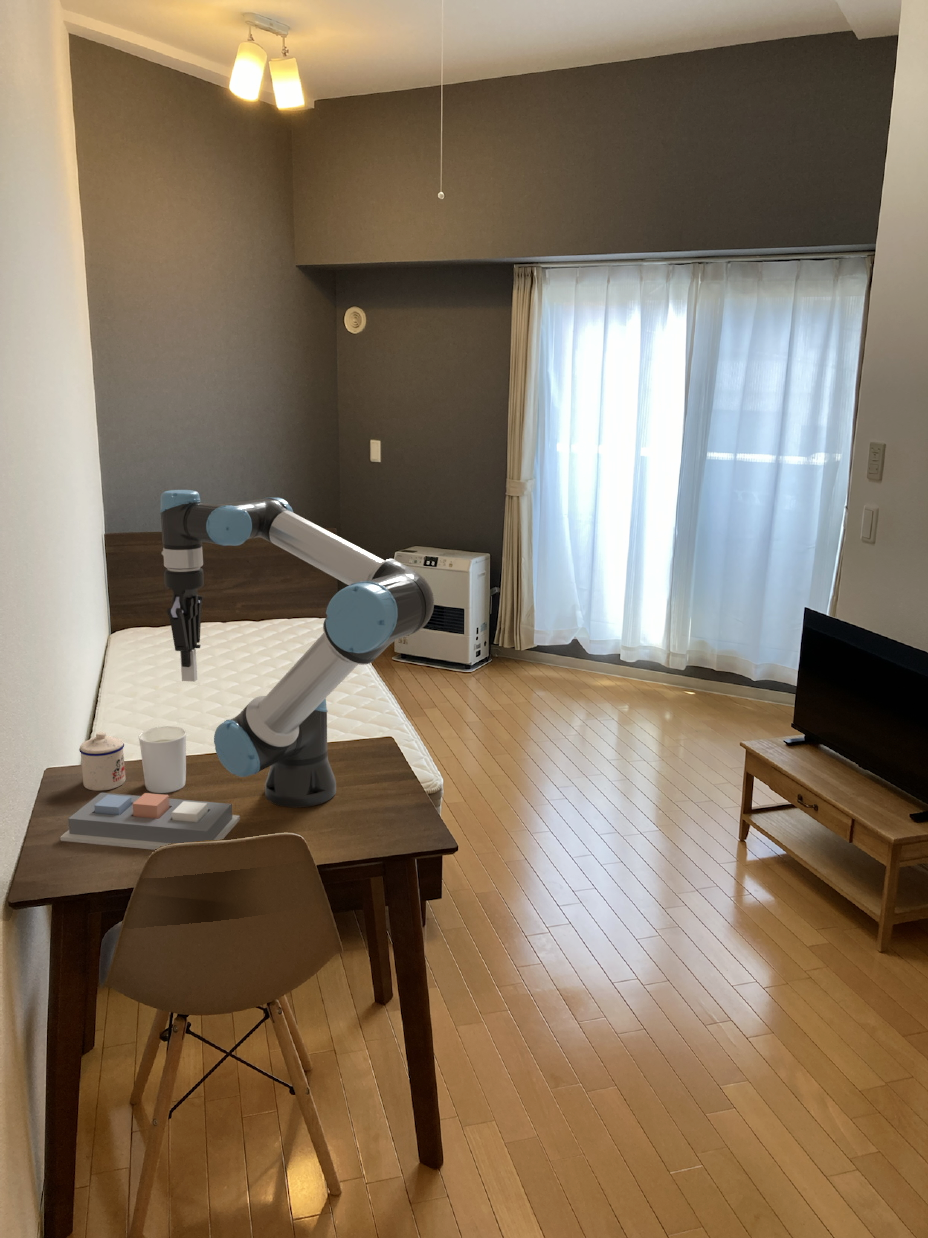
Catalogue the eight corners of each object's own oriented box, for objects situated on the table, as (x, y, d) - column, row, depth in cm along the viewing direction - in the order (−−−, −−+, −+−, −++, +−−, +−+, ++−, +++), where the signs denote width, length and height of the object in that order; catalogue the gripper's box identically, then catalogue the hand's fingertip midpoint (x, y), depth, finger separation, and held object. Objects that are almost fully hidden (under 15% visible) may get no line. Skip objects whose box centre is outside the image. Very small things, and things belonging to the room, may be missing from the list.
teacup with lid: (122, 790, 200) (118, 740, 197) (78, 793, 198) (73, 741, 195) (132, 768, 211) (128, 720, 208) (90, 770, 210) (86, 722, 207)
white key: (208, 817, 183) (207, 803, 182) (197, 828, 178) (196, 814, 177) (184, 815, 184) (183, 801, 183) (172, 826, 179) (171, 812, 178)
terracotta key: (169, 809, 184) (168, 795, 183) (157, 820, 179) (156, 805, 178) (145, 806, 185) (144, 793, 184) (133, 818, 180) (132, 803, 179)
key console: (240, 819, 188) (239, 801, 187) (209, 855, 173) (208, 835, 172) (101, 807, 192) (100, 789, 191) (60, 840, 178) (58, 821, 177)
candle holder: (196, 778, 207) (194, 727, 204) (176, 797, 197) (173, 744, 194) (155, 774, 208) (152, 724, 205) (133, 793, 199) (129, 740, 196)
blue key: (132, 810, 185) (131, 796, 184) (119, 821, 180) (118, 807, 180) (108, 808, 186) (107, 794, 185) (95, 819, 181) (94, 805, 180)
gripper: (178, 561, 193) (184, 670, 198) (151, 573, 180) (159, 689, 186) (213, 562, 192) (218, 671, 198) (189, 574, 179) (195, 691, 185)
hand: (189, 680), depth 192 cm, fingers closed
